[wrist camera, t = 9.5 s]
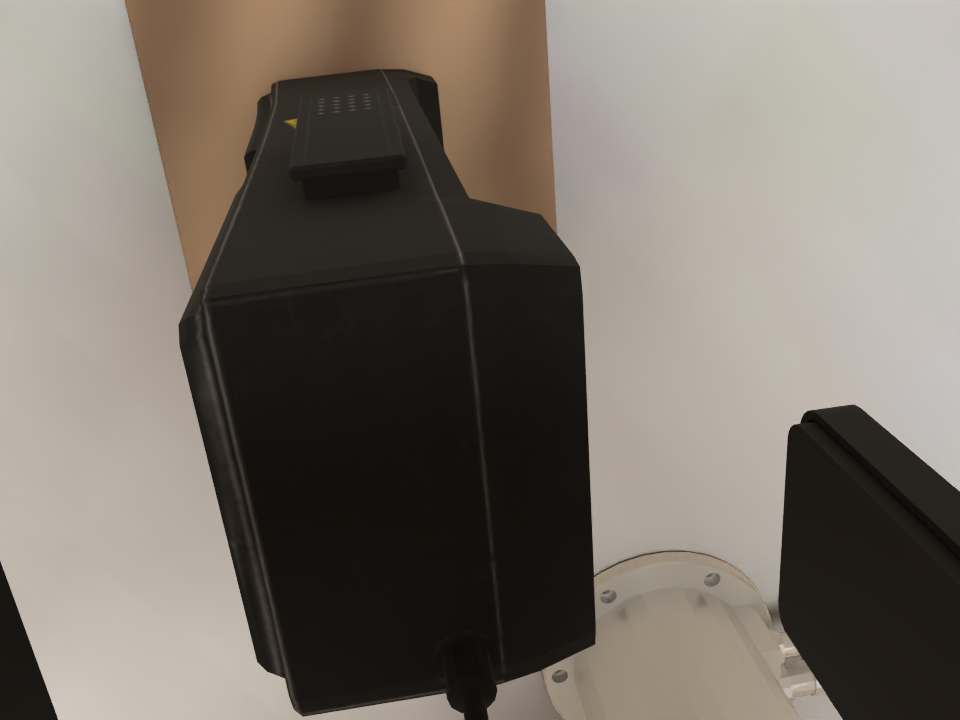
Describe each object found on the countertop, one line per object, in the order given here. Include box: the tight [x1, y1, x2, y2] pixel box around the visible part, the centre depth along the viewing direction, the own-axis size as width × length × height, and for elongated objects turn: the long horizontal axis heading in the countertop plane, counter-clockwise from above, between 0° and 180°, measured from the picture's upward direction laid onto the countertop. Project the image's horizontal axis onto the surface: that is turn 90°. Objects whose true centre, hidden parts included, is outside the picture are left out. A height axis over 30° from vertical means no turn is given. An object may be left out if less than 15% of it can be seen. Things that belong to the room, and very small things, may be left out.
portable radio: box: [179, 69, 596, 720], centre depth 21 cm, size 8×6×25 cm
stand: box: [125, 0, 557, 292], centre depth 34 cm, size 14×14×4 cm
